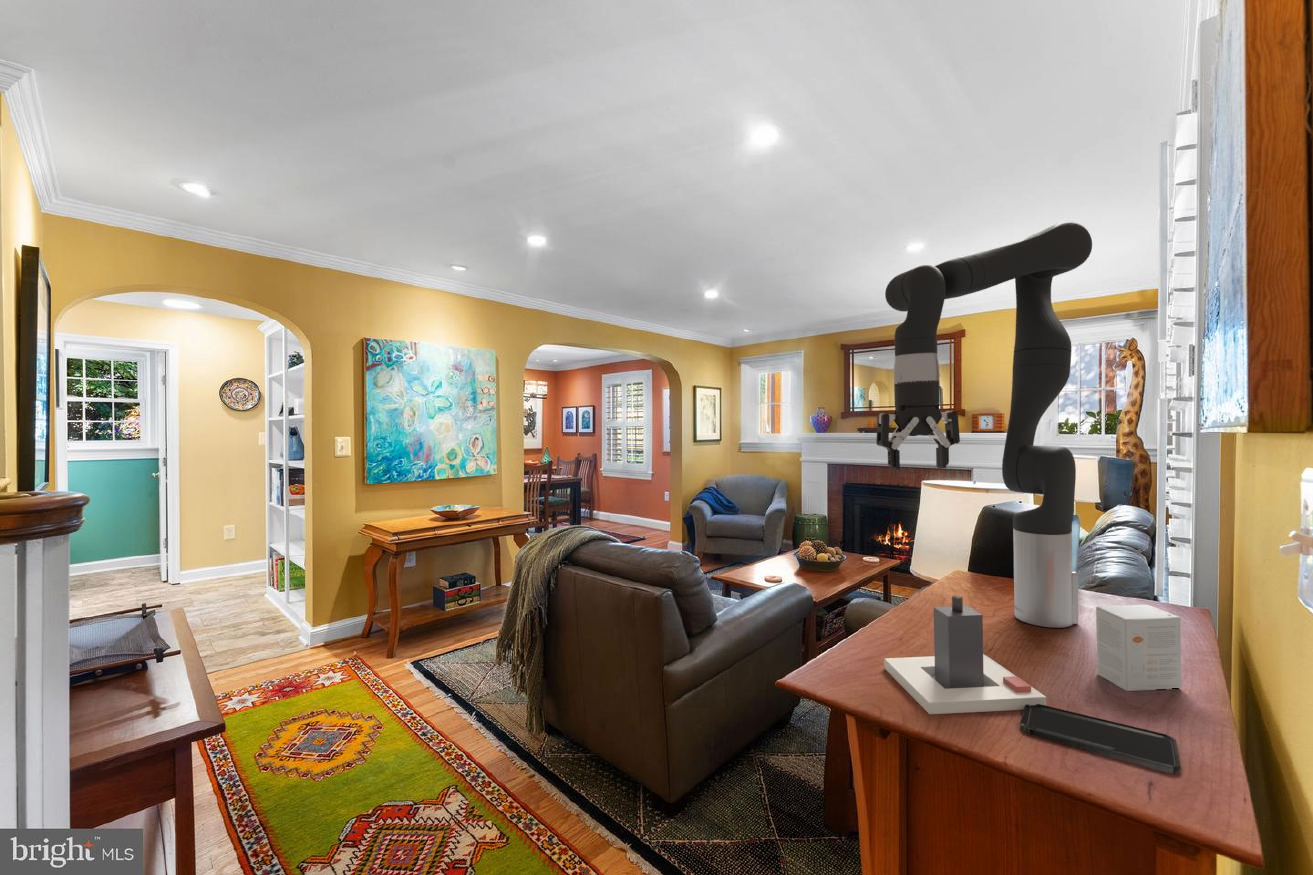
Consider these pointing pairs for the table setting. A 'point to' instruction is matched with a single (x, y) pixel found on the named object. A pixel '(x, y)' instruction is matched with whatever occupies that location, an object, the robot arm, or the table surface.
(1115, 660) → the small box
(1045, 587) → the robot arm
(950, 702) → the socket plate
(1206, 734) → the table surface
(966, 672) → the plug
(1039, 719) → the phone
